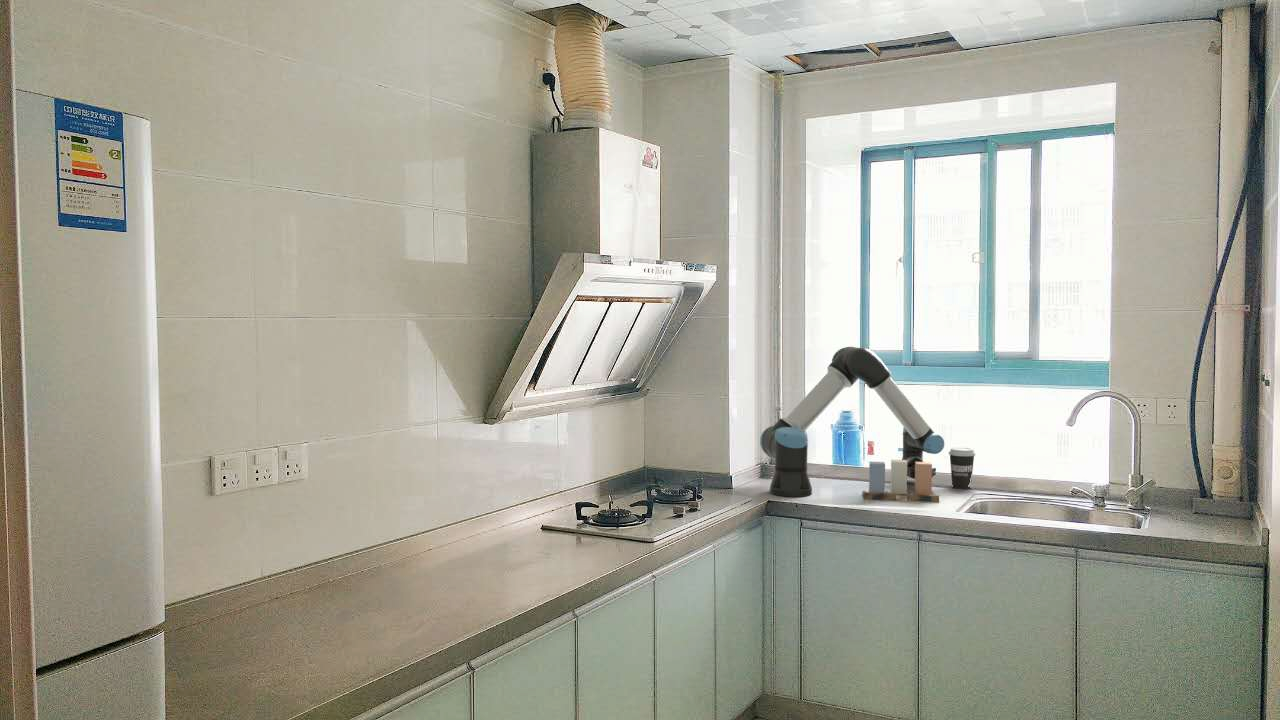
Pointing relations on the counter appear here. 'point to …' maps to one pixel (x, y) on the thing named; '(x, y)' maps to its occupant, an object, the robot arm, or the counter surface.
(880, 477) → the blue-grey tall block
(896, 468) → the key
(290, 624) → the counter surface
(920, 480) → the brown tall block
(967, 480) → the coffee cup
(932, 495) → the brown wooden flat board
